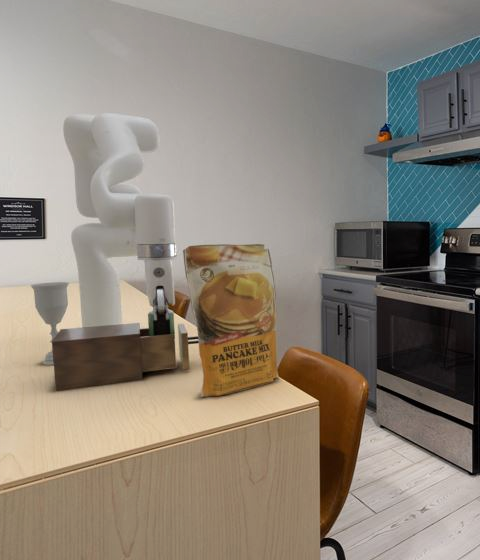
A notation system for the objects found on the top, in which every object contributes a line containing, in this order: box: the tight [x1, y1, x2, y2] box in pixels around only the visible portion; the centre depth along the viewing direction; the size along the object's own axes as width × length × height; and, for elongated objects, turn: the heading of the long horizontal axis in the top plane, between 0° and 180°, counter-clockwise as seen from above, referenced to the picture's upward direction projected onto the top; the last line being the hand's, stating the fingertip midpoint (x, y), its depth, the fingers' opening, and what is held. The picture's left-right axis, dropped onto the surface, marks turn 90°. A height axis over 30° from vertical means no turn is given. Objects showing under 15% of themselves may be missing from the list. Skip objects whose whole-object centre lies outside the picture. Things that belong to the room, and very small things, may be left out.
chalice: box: [30, 281, 70, 366], centre depth 116 cm, size 7×7×18 cm
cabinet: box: [51, 322, 143, 391], centre depth 105 cm, size 15×13×10 cm
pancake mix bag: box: [182, 243, 280, 398], centre depth 98 cm, size 7×19×28 cm, turn 138°
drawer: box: [140, 323, 199, 373], centre depth 111 cm, size 18×11×8 cm, turn 119°
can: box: [147, 309, 176, 337], centre depth 110 cm, size 5×5×6 cm
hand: (161, 334), depth 111 cm, fingers closed on can, 5 cm apart
